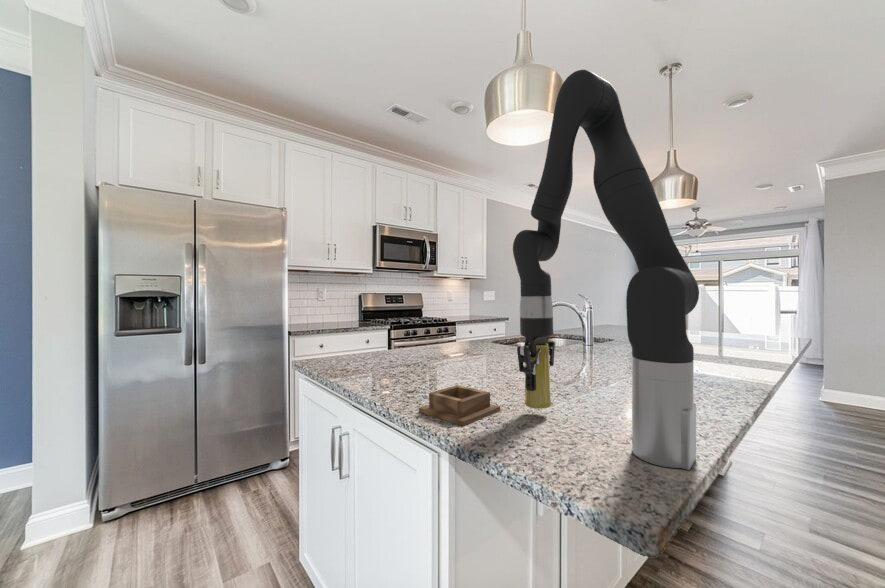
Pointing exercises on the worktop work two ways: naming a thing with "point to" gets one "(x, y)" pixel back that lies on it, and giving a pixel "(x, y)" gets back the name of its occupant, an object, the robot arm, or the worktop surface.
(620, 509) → the worktop surface
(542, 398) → the vase
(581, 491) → the worktop surface
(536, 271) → the robot arm
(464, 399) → the socket block
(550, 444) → the worktop surface
